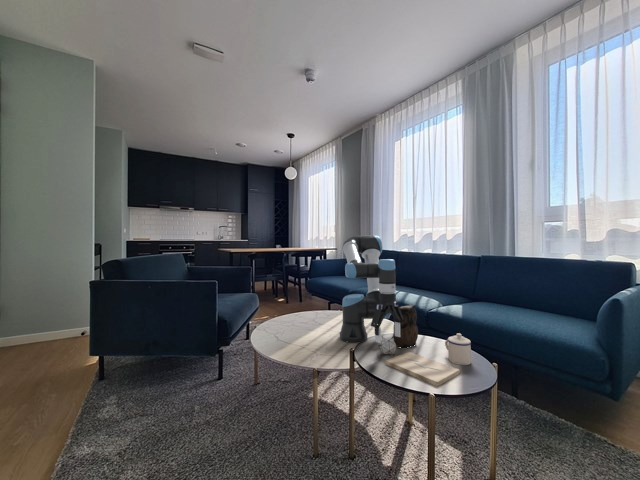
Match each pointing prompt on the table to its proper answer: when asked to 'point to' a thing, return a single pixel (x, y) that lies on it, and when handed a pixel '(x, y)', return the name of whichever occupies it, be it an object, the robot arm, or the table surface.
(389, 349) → the game die
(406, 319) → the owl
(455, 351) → the teacup with lid
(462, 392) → the table surface
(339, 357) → the table surface
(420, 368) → the board
